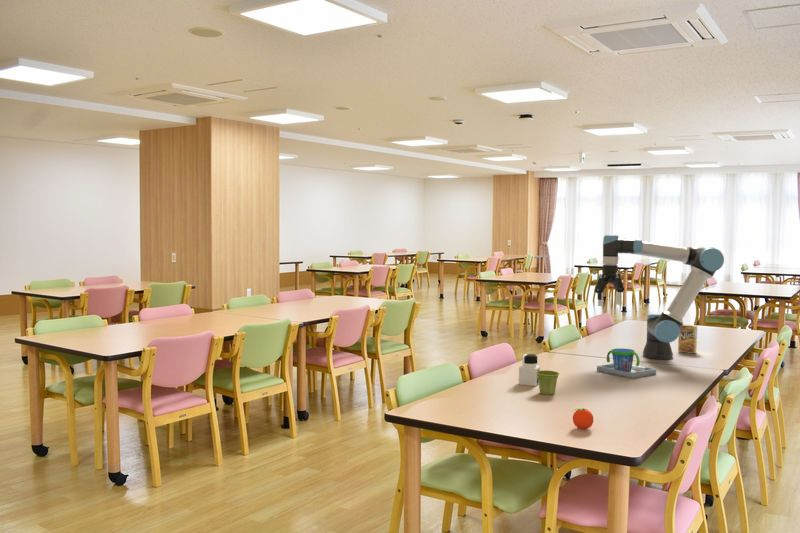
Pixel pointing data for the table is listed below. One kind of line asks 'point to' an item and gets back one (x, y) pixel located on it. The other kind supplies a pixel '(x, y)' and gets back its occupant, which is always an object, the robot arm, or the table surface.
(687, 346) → the candy box
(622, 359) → the snack cup
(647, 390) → the table surface
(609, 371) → the meal tray
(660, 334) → the robot arm
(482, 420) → the table surface
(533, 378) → the container
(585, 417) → the tomato
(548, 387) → the plant pot
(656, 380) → the table surface
